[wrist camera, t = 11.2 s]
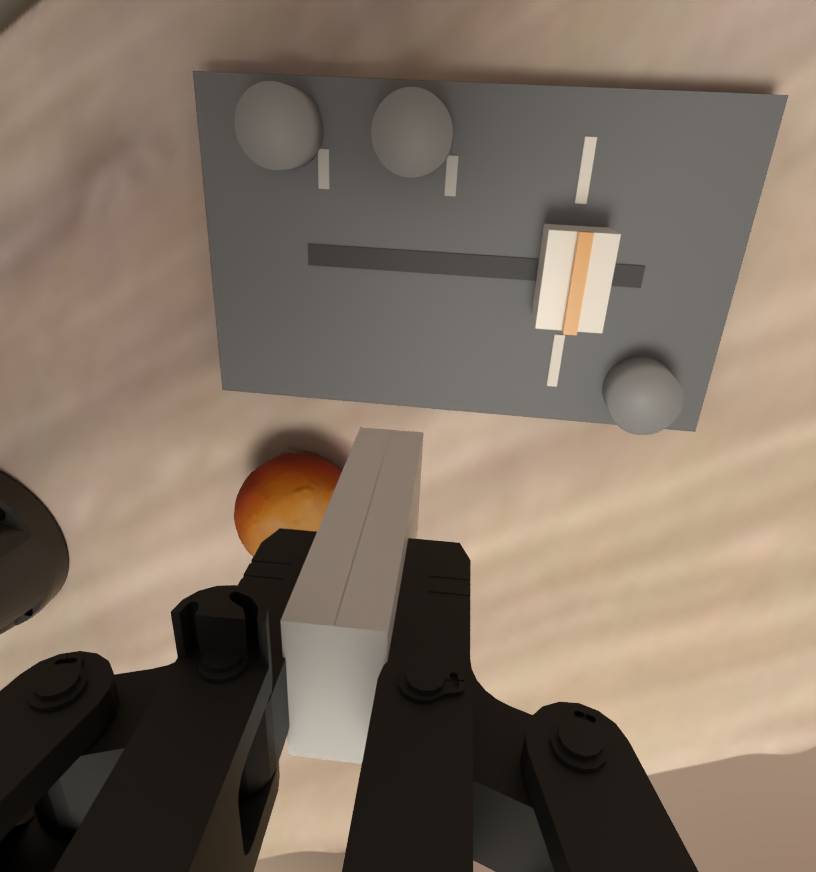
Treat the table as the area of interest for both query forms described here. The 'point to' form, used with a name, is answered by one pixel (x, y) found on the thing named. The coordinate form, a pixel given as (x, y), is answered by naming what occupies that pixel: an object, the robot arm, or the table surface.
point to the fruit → (284, 496)
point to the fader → (574, 278)
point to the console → (474, 239)
